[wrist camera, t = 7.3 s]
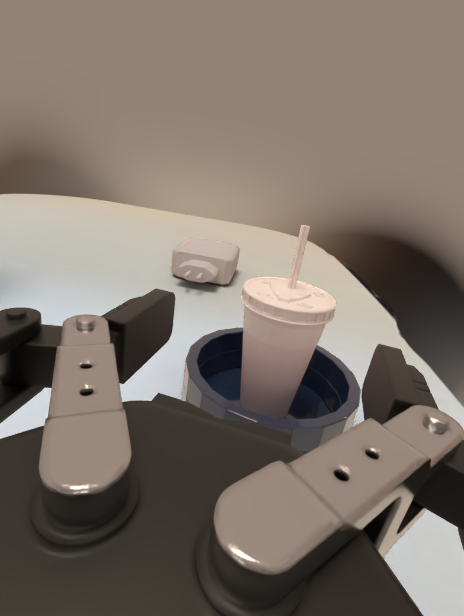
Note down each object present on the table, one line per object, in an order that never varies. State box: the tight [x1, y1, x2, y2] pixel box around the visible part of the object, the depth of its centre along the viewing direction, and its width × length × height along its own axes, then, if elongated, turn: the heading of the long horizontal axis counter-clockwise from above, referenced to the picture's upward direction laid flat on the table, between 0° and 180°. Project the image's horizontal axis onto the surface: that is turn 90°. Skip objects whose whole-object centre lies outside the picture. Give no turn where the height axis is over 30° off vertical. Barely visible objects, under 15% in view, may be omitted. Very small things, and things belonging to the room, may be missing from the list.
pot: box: [181, 328, 361, 454], centre depth 26 cm, size 13×13×4 cm
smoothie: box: [240, 225, 336, 419], centre depth 24 cm, size 6×6×14 cm
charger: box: [171, 237, 240, 285], centre depth 53 cm, size 5×9×15 cm
